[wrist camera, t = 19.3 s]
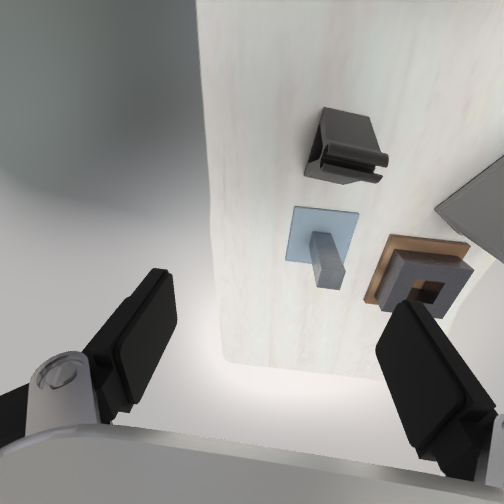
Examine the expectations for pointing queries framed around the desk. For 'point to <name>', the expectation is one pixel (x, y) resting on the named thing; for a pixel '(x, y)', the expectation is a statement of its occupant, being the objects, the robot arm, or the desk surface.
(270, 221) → the desk surface
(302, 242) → the mat
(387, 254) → the stand
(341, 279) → the key peg
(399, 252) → the block
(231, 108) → the desk surface
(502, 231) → the cassette tape recorder
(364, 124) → the phone stand
